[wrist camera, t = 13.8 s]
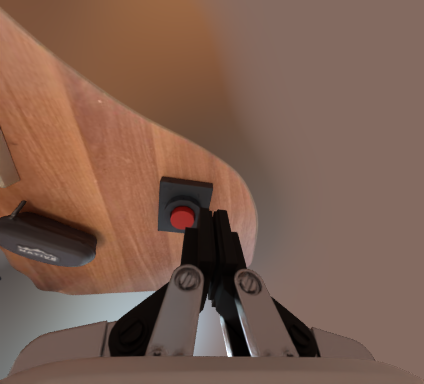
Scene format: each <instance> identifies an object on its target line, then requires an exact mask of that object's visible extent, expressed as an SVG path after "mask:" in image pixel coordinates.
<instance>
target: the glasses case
mask: <svg viewBox="0 0 424 384" xmlns="http://www.w3.org/2000/svg"><path fill="white" fill-rule="evenodd" d="M26 202H27V201H25V200H23V201H21V203H20V204H19V206H18V207H17V208H16V209H15V210H14V211H13V213H12V214H11V215H8V216H3V217H1V218H0V246H2V247H3V248H5V249H7V250H9V251H11V252H13V253H16V254H18V255H21V256H23V257H26V258H29V259H33V260H36V261H40V262H43V263H47V264H52V265H57V266H65V267H78V266H83V265H85V264H87V263H89V262H91V261H92V260H93V259H94V258H95V255H96V244H97V240H96V238H95V237H94V236H93V235H90V234H88V233H85V232H83V231H80V230H78V229H75V228H72V227H70V226H68V225H65V224H62V223H59V222H57V221H54V220H52V219H49V218H46V217H44V216H41V215H38V214H35V213H31V212H22V213H19V212H20V210H21V209H22V208H23V206H24V205H25V204H26Z"/></svg>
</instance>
